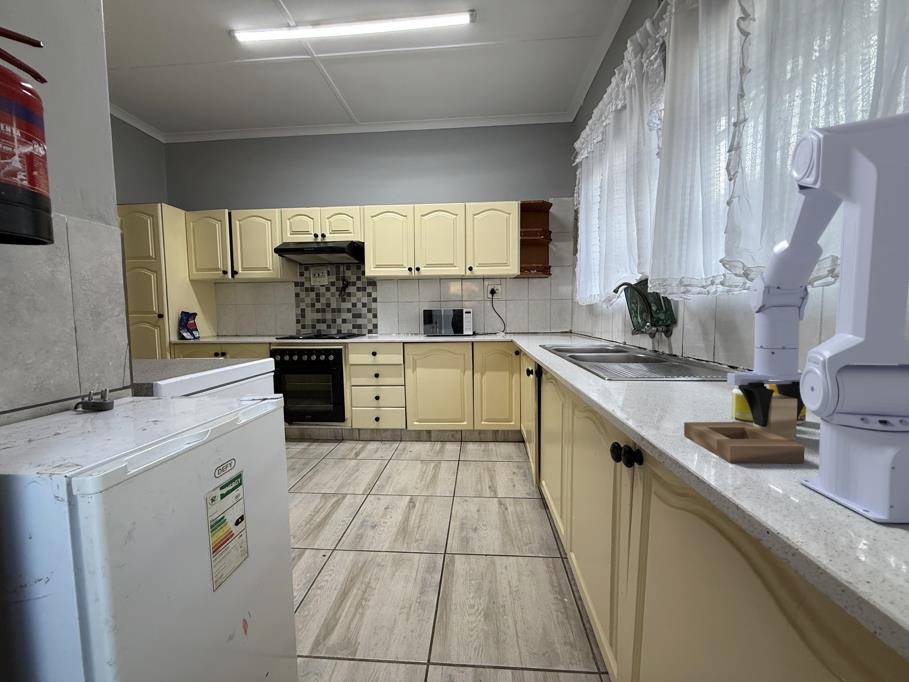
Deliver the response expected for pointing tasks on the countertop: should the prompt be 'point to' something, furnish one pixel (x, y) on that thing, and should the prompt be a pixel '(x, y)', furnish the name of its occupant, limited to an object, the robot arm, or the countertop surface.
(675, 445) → the countertop surface
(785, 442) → the collar block
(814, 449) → the countertop surface
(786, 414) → the oak peg
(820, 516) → the countertop surface
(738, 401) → the supplement bottle
